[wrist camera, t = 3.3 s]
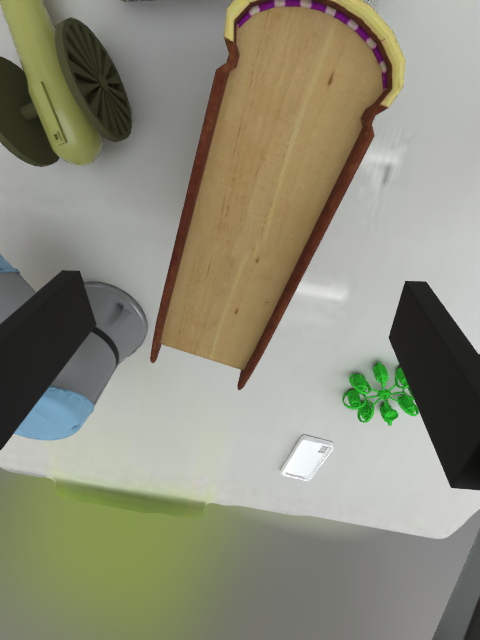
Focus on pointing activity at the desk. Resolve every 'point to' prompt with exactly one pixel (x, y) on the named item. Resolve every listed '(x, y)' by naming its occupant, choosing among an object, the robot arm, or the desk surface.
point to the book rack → (134, 0)
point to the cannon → (58, 90)
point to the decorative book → (272, 168)
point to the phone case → (306, 457)
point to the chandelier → (384, 394)
